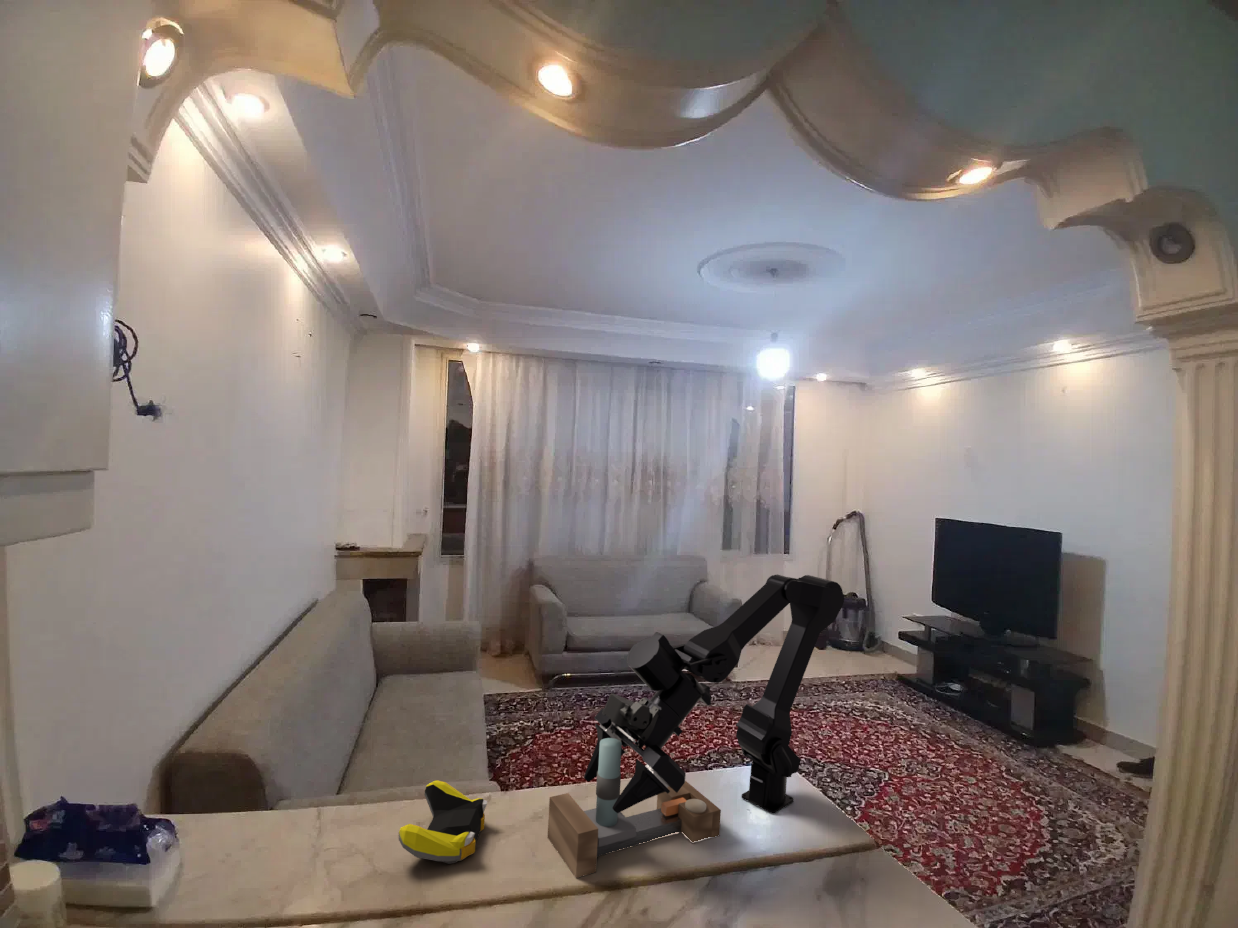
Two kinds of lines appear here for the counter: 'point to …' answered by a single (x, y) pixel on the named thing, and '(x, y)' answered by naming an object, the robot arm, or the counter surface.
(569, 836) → the end cabinet
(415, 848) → the gaming controller
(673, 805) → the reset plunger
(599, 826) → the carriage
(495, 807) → the counter surface
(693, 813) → the end cabinet
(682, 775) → the robot arm
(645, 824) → the track
